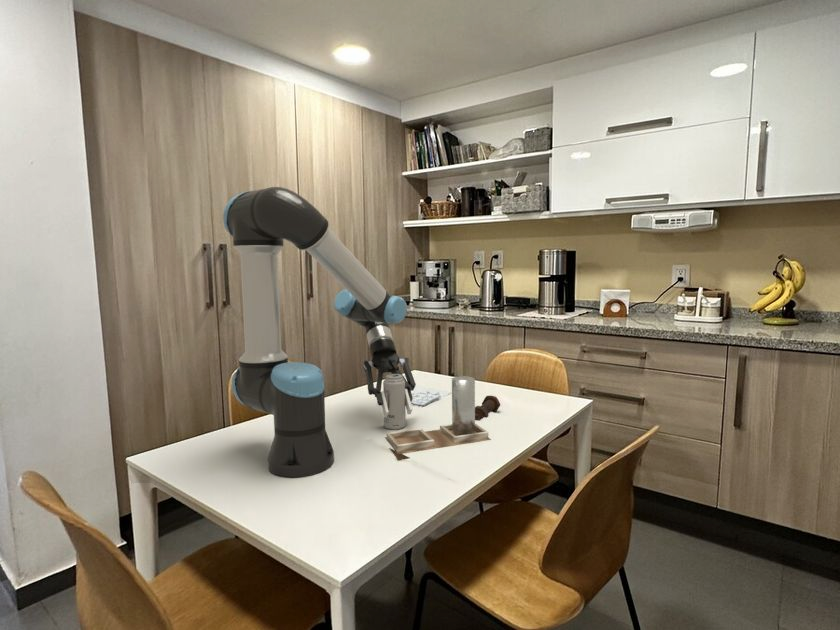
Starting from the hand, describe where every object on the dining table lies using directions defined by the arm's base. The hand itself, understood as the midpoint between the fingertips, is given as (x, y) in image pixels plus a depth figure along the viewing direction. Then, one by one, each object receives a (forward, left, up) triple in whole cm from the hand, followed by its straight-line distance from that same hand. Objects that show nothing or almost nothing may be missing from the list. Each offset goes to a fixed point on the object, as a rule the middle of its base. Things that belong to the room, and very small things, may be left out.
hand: (398, 413), depth 129 cm
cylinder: (+11, -14, -5) cm, 18 cm away
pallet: (+4, -11, -6) cm, 14 cm away
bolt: (+28, -5, -7) cm, 30 cm away
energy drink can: (+1, +3, -6) cm, 7 cm away
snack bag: (+29, +27, -7) cm, 40 cm away
